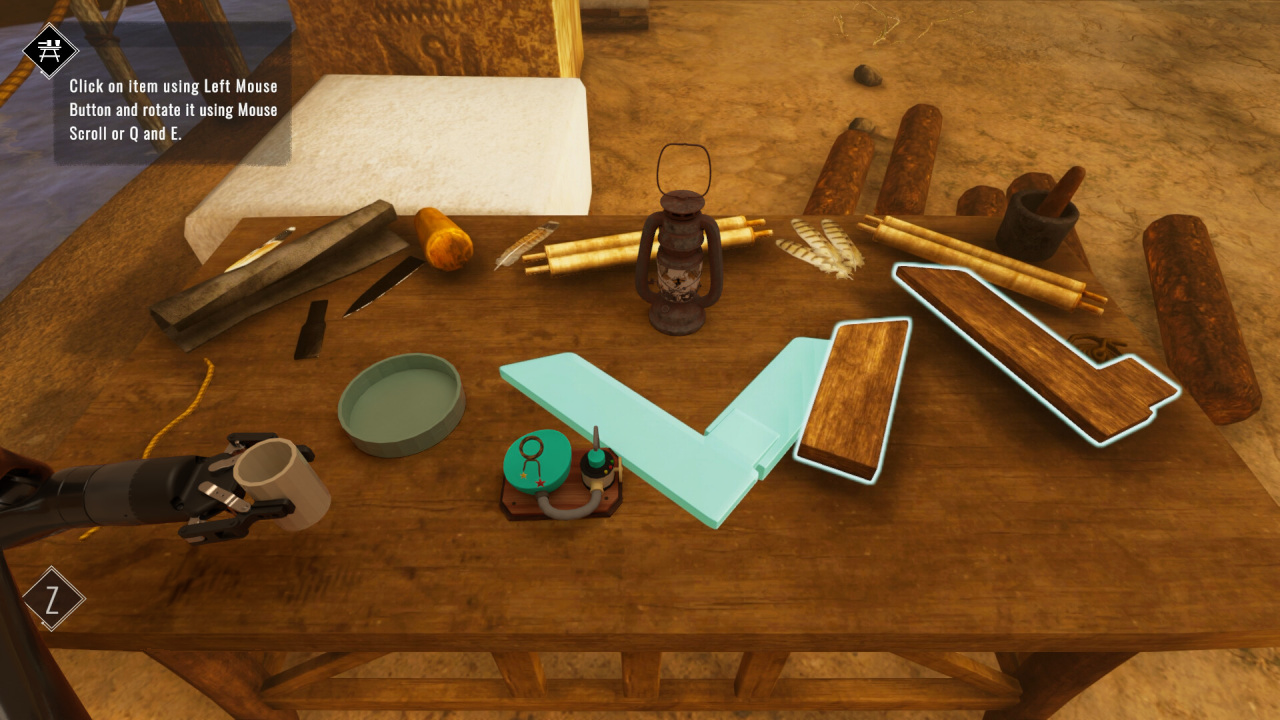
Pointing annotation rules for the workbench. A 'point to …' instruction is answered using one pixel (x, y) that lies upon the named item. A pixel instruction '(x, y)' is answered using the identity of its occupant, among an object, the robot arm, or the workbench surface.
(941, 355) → the workbench surface
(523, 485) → the contraption on wooden base
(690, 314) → the lantern
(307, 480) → the cup
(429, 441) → the bowl
